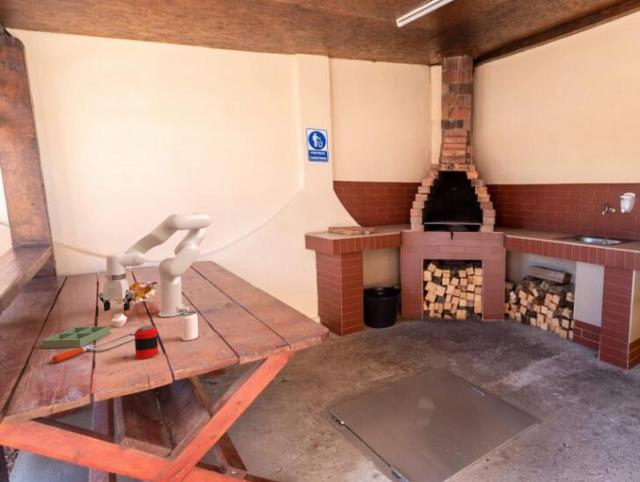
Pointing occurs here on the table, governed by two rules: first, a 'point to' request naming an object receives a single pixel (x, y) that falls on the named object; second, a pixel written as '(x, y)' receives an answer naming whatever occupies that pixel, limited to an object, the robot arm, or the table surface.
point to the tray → (75, 337)
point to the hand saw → (86, 348)
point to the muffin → (119, 320)
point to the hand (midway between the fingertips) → (116, 310)
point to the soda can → (146, 342)
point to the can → (189, 326)
